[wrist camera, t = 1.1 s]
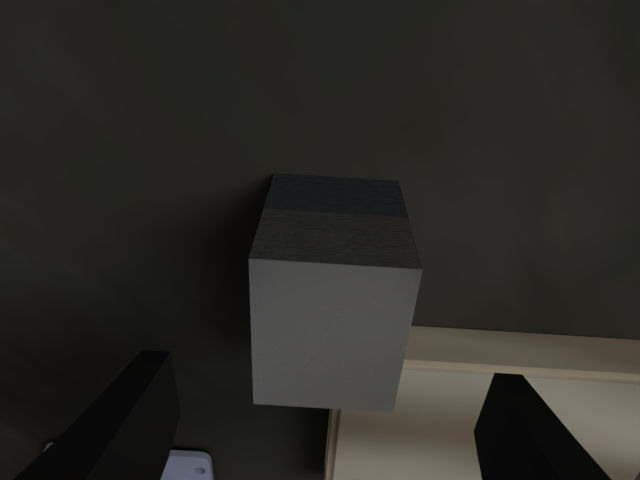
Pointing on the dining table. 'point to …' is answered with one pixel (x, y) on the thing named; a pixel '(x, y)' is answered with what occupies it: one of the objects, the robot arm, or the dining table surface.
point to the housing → (331, 293)
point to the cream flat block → (469, 395)
